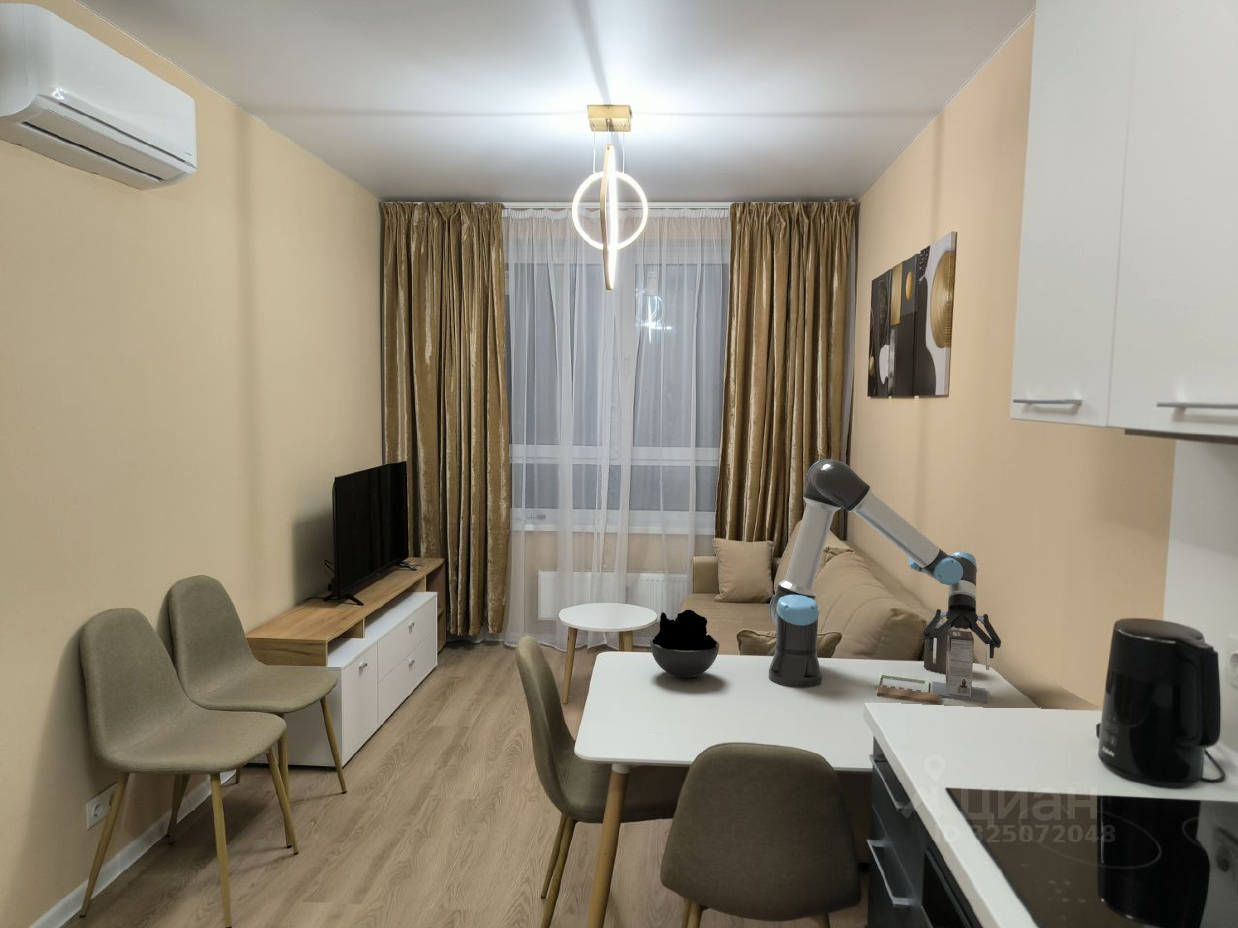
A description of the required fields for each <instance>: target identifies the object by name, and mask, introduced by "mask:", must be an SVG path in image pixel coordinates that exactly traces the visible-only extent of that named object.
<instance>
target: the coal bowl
mask: <svg viewBox="0 0 1238 928" xmlns="http://www.w3.org/2000/svg"><path fill="white" fill-rule="evenodd" d="M676 615H677V616H676V617H675V619H673V618H672V619H669V618H667V617H668V616H667V614H666V612H663V611H662V612H661V613H660V617H659V618H660V619H659V630H658V633H657V634H656V635H655V636H654V637H652V638H651V639H650V641H649V646H650V647H649V648H650V650H651V655H652V656H653V659H654V661H655V663H656V664H657V665H658V666H659V668H660V669H662V670H663V671H664V672H665V673H668V674H669V675H671V676H674V677H677V678H682V679H683V678H684V679H688V678H694V677H697V676H700V675H701V674H703V673H705V672H706V671H707V670H708V669H710V668H711V667H712V665H713V664H714V662H716V661H715V660H716V658H717V657H718V654H719V650H720V643H719V642H718V641H717V640H716V639H714V638H713V636H711V634H707V633H708V631H707V625H708V619H707V618H706V617H705V616H702V615H700V614H698V613H697V612H695V610H692V609H685V610H683V611H681V612H680V613H677V614H676Z"/></svg>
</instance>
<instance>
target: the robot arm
mask: <svg viewBox="0 0 1238 928" xmlns="http://www.w3.org/2000/svg"><path fill="white" fill-rule="evenodd" d="M806 473H807V474H806V487H805V490H804V493H803V498H802V499H803V500H804V502H805V509H804V511H803V516H802V518H801V519H802V520H801V523H800V527H799V529H798V534H797V535H796V536H797V537H796V540H795V544H794V547H793V550H792V553H791V557H790V561H789V564H788V567H787V571H786V575H785V578H784V579H783V580H782V581H780V582H778V585H777V588H776V591H775V594H773V596H772V598H771V600H770V603H769V614H770V615H769V616H770V619H771V620H772V622H773V624H774V625H775V628H776V629H775V630H776V634H775V635H776V636H775V652H774V655H773V657H772V660H771V663H770V665H769V668H768V678H769V679H770V681H772V682H773V683H777V684H780V685H783V686H789V687H794V688H795V687H796V688H807V687H808V688H809V687H816V686H819V685H820V684H822V682H823V672H822V669H821V666H820V662H819V658H818V654H817V653H818V652H817V651H818V648H817V647H818V631H819V629H818V628H819V627H818V626H819V617H820V616H819V615H820V611H819V605H818V603H817V601H816V600H815V599H816V596H817V594H816V591H815V590H814V585H815V580H816V578H817V574H818V570H819V567H820V563H821V560H822V558H823V557H822V556H823V553H824V551H825V546H826V542H827V540H828V536H829V533H830V529H831V526H832V523H833V519H834V516H835V513H836V512H837V511H840V510H842V508H843V509H844V510H845V511H846V512H847V513H854V514H855V515H856V516H857V517H859V518H860V519H862V520H863V521H864V522H865V523H867V524H868V526H870V527H871V528H873V529H874V530H875V531H876V532H877V533H879V534H880V535H881V536H882V537H884V539H886V540H887V541H889V542H890V543H891V544H892V545H893V546H894V547H896V548H897V549H898V550H899V551H901V552H902V553H903V554H904V555H906V556H907V557H908V558H909V559H908V565H909V567H910V569H913V570H915V571H916V572H920V573H922V574H926V575H928V576H929V577H930V578H932V579H934V580H936V581H938V583H939V584H942V585H947V586H948V600H947V611H946V612H945V611H942V609H940V608H937V609H936V613H935V616H934V617H933V618H932V619H931V621H929V622H930V624H929V625H928V626H927V628H926V627H925V628H924V630H923V632H922V639H923V640H925V639H927V640H929V650H930V651H933V663H936V644H937V638H939V637H940V636H941V635H942V634H944V633H945V632H946V631H947V630H949V629H951V628H952V627H953V626H954V627H956V628H958V629H959V628H960V629H963V630H970V632H971V633H972V632H973V633H974V634H975V635H976V636H977V637H978V638H979V639H980V640H981V641H982V642H983V643H984V644H985V670H986V671H989V670H990V666H991V664H990V663H991V662H990V661H991V660H990V659H994V657H995V648H997V649H1000V648H1001V645H1002V640H1001V638H1000V636H999V635H998V634H997V631H996V630H995V629H994V627H993V626H992V624H991V622H990V621H989V620H990V619H989V615H988V614H987V613H984V614H983V615H978V613H977V572H978V568H977V560H976V558H975V556H974V555H973V554H972V553H970V552H966V551H964V552H962V551H956V552H953V553H952V554H951V555H950V554H948V553H946V552H945V551H944V550H942V549H941V548H940V547H939V546H938V545H936V544H935V543H934V542H933V541H932V540H931V539H929V538H928V537H927V536H926V535H924V534H923V533H922V532H921V531H919V530H918V529H917V528H916V527H915V526H913V525H912V524H911V523H910V522H908V521H907V520H906V519H905V518H903V516H901V515H900V514H899V513H898V512H896V510H894V509H893V508H892V507H890V506H889V505H888V504H887V503H885V502H884V501H883V500H882V499H880V498H879V497H878V496H877V495H875V494H874V493H873V492H872V487H871V486H870V485H869V484H868V483H867V482H865V481H864V480H863V478H862V477H860V476H859V475H858V474H857V473H856V472H855V471H854V469H852V468H851V467H850V466H849V465H848V464H847V463H845V462H842V461H840V460H836V459H831V458H825V459H820V460H818V461H816V462H815V463H813V464H812V465H811V466H810V468H809V469H808V471H807V472H806ZM944 618H946V621H944V622H945V623H944V624H943V625H941V626H940V627H939V628H938V629H936V630H935V631H934V632H933V633H931V632H932V631H933V630H934V628H935V627H936V626H937V624H938V623H939V622H941V621H940V620H944ZM978 621H979V622H980V624H982V625H983V627H984V629H985V631H986V632H985V631H984V630H983V629H982V628H981V627H980V626H979V624H978V623H977V622H978ZM960 629H959V630H960Z"/></svg>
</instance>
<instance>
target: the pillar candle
mask: <svg viewBox="0 0 1238 928" xmlns="http://www.w3.org/2000/svg"><path fill="white" fill-rule="evenodd" d="M930 622H931V621H927V622H926V625H925V629H926V628H927V626H928V625H929V624H930ZM945 622H946V621H943V620H941V621H939V623H938V624H937V626H936V627H935V628H934V630H933V631H932V632H931V633H933V632H934V631H935V630H936V629H938V628H939V627H940V626H941V625H943V624H944V623H945ZM960 629H961V628H959V629H958V628H956V627H954V626H953V627H952V628H951V629H949V630H956V631H960ZM947 636H948V630H947V631H946V632H945V633H944V634H942V635H941V636H940V637H939V638H937V644H936V663H933V651H930V650H929V640H927V639H924V654H923V657H924V658H923V668H924V669H925V670H927V671H929V670H930V672H933V671H934V672H933V673H938V672H939V673H938V674H946V658H947Z"/></svg>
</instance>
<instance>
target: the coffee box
mask: <svg viewBox="0 0 1238 928" xmlns="http://www.w3.org/2000/svg"><path fill="white" fill-rule="evenodd" d="M974 647H975V638H974V636H973V633H972V631H968V630H967V631H966V630H959V631H956V630H948V636H947V658H946V673H945V683H946V689H947V693H948V694H952V695H960V696H969V697H971V690H972V687H973V666H974V665H973V664H974V651H975V650H974Z"/></svg>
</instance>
